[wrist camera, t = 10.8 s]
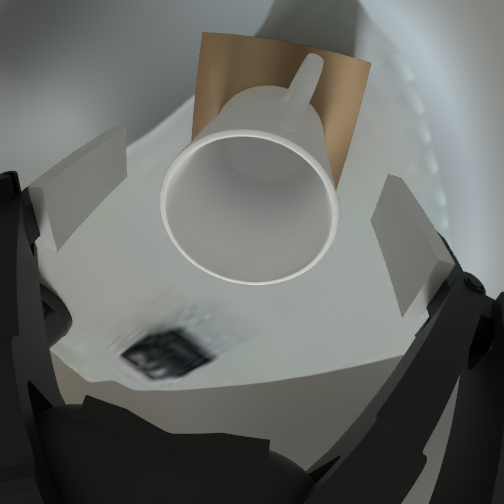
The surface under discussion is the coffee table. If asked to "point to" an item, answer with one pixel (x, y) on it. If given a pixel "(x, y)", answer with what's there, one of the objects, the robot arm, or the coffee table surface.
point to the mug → (255, 186)
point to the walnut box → (280, 84)
